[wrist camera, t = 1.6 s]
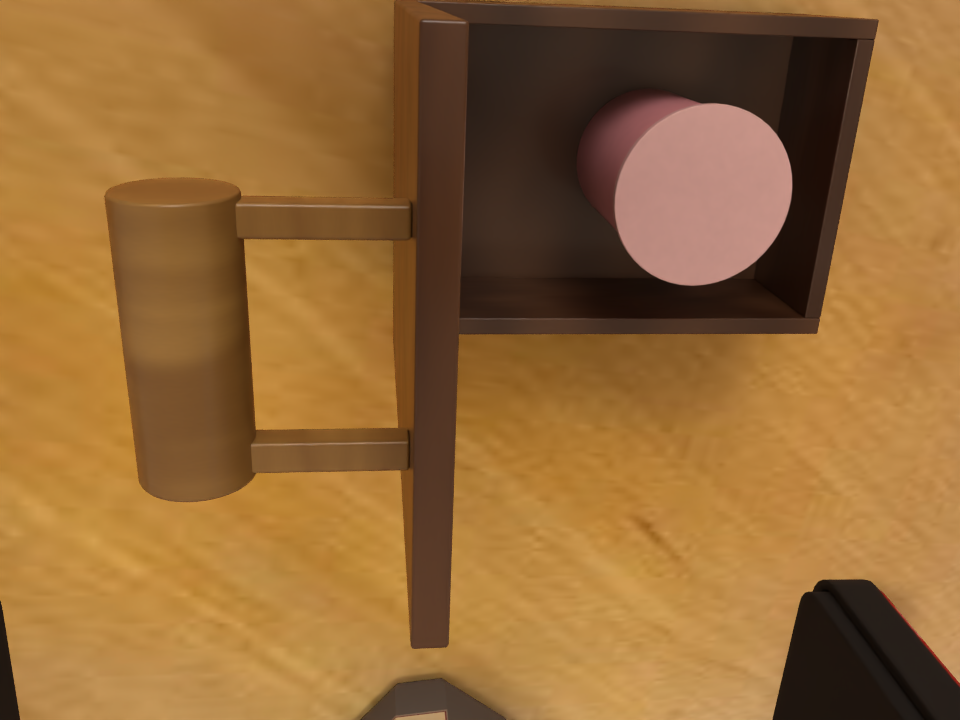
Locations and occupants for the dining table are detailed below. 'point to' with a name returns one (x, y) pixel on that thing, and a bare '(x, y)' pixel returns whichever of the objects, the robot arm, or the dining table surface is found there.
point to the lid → (225, 321)
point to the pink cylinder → (685, 183)
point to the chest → (560, 125)
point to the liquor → (429, 703)
